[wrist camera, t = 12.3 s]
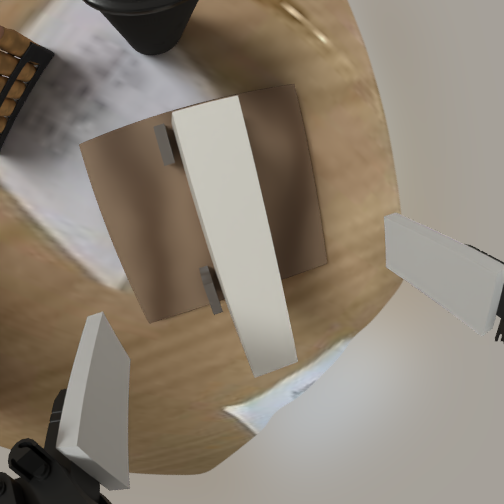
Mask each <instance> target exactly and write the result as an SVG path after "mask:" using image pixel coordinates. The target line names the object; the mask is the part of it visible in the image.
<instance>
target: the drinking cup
mask: <svg viewBox="0 0 504 504" xmlns="http://www.w3.org/2000/svg"><path fill="white" fill-rule="evenodd" d="M83 1H84V2H85V3H86V4H87V5H89V6H90V7H92V8H94V9H96V10H99V11H100V12H101V13H102V14H103V15H104V16H105V17H106V18H107V19H108V20H109V22H110V23H111V24H112V25H113V26H114V27H115V28H116V29H117V30H118V31H119V33H120V34H121V35H122V36H123V37H124V38H125V39H126V40H127V42H128V43H129V44H130V45H131V46H132V47H133V48H134V49H135V50H136V51H138V52H140V53H142V54H146V55H157V54H161V53H164V52H166V51H168V50H170V49H171V48H173V47H174V46H175V45H176V44H177V43H178V41H179V40H180V38H181V36H182V33H183V31H184V29H185V27H186V25H187V23H188V21H189V18H190V16H191V14H192V12H193V10H194V8H195V6H196V4H197V2H198V0H83Z"/></svg>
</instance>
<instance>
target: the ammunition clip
mask: <svg viewBox="0 0 504 504" xmlns="http://www.w3.org/2000/svg"><path fill="white" fill-rule="evenodd" d="M0 49H1V50H3V51H6V52H8V53H4V52H2V51H0V150H1V148H2V146H3V143H4V141H5V139H6V137H7V135H8V133H9V131H10V129H11V127H12V125H13V123H14V121H15V119H16V117H17V115H18V113H19V111H20V109H21V107H22V106H23V104H24V102H25V100H26V99H27V97H28V95H29V93H30V92H31V90H32V88H33V87H34V85H35V83H36V82H37V80H38V79H39V77H40V75H41V74H42V72H43V71H44V69H45V68H46V66H47V65H48V63H49V62H50V60H51V59H52V57H53V56H54V53H53V52H52V51H50V50H48V49H46V48H44V47H42V46H40V45H38V44H36V43H35V42H33V41H31V40H30V39H28V38H27V37H25V36H23V35H22V34H20V33H18V32H17V31H15V30H12V29H7V28H5V27H2V26H0ZM14 56H16V57H19V58H21V59H18V58H16V57H14ZM2 75H4V76H7V77H9V78H7V77H4V76H2Z"/></svg>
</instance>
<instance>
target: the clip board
mask: <svg viewBox="0 0 504 504" xmlns="http://www.w3.org/2000/svg"><path fill="white" fill-rule="evenodd" d="M237 95H238V98H239V102H240V106H241V110H242V114H243V118H244V122H245V126H246V130H247V134H248V138H249V143H250V147H251V151H252V155H253V159H254V163H255V168H256V172H257V176H258V180H259V185H260V189H261V193H262V197H263V202H264V206H265V210H266V215H267V219H268V224H269V228H270V233H271V237H272V241H273V246H274V250H275V255H276V259H277V264H278V269H279V273H280V278H281V280H282V279H285V278H288V277H291V276H294V275H297V274H299V273H302V272H305V271H308V270H310V269H313V268H316V267H319V266H321V265H324V264H327V258H326V251H325V244H324V237H323V230H322V224H321V217H320V211H319V205H318V199H317V193H316V187H315V181H314V176H313V170H312V165H311V160H310V155H309V149H308V144H307V139H306V135H305V130H304V125H303V120H302V116H301V111H300V107H299V102H298V98H297V94H296V90H295V85H294V84H290V85H284V86H277V87H271V88H266V89H260V90H255V91H250V92H245V93H240V94H235V95H231V96H226V97H222V98H218V99H214V100H210V101H206V102H202V103H198V104H194V105H190V106H187V107H183V108H180V109H176V110H173V111H169V112H166V113H163V114H160V115H157V116H153V117H150V118H147V119H144V120H141V121H138V122H135V123H133V124H130V125H127V126H124V127H122V128H119V129H116V130H113V131H111V132H108V133H106V134H103V135H101V136H98V137H96V138H93V139H91V140H88V141H86V142H84V143H81V144H79V146H80V150H81V153H82V157H83V160H84V163H85V166H86V170H87V173H88V176H89V179H90V182H91V185H92V188H93V191H94V194H95V197H96V200H97V203H98V205H99V208H100V211H101V214H102V216H103V219H104V222H105V224H106V227H107V230H108V232H109V235H110V237H111V240H112V242H113V245H114V247H115V250H116V252H117V255H118V257H119V259H120V262H121V264H122V266H123V269H124V271H125V273H126V276H127V278H128V280H129V282H130V285H131V287H132V289H133V291H134V293H135V295H136V298H137V300H138V302H139V304H140V306H141V308H142V310H143V312H144V314H145V316H146V318H147V320H148V322H149V323H153V322H156V321H159V320H162V319H165V318H169V317H172V316H175V315H178V314H181V313H184V312H187V311H191V310H194V309H197V308H200V307H203V306H206V305H209V304H210V305H211V308H212V311H213V313H214V315H215V314H218V313H221V312H223V311H222V308H221V305H220V302H219V301H221V300H224V299H225V298H224V295H223V292H222V290H221V286H220V283H219V280H218V277H217V274H216V271H215V268H214V265H213V262H212V259H211V256H210V253H209V249H208V246H207V243H206V240H205V237H204V233H203V230H202V227H201V224H200V220H199V217H198V214H197V211H196V207H195V204H194V201H193V197H192V194H191V191H190V187H189V184H188V180H187V177H186V173H185V170H184V166H183V163H182V159H181V156H180V152H179V149H178V145H177V142H176V138H175V134H174V131H173V127H172V112H174V111H178V110H181V109H185V108H188V107H192V106H196V105H199V104H203V103H207V102H211V101H215V100H219V99H224V98H228V97H232V96H237Z"/></svg>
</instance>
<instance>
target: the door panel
mask: <svg viewBox="0 0 504 504" xmlns="http://www.w3.org/2000/svg"><path fill="white" fill-rule="evenodd" d="M172 127H173V131H174V134H175V138H176V142H177V145H178V149H179V152H180V156H181V159H182V163H183V166H184V170H185V173H186V177H187V180H188V184H189V187H190V191H191V194H192V197H193V201H194V204H195V207H196V211H197V214H198V217H199V220H200V224H201V227H202V230H203V233H204V237H205V240H206V243H207V246H208V249H209V253H210V256H211V259H212V262H213V265H214V268H215V271H216V274H217V277H218V280H219V283H220V286H221V290H222V292H223V295H224V298H225V301H226V303H227V306H228V309H229V312H230V314H231V317H232V320H233V322H234V325H235V328H236V331H237V333H238V336H239V339H240V341H241V344H242V346H243V349H244V352H245V354H246V357H247V359H248V362H249V365H250V367H251V370H252V372H253V375H254V377H258V376H261V375H264V374H267V373H269V372H272V371H275V370H278V369H280V368H283V367H285V366H288V365H291V364H293V363H296V362H298V359H297V354H296V349H295V344H294V339H293V335H292V330H291V325H290V320H289V315H288V311H287V306H286V301H285V296H284V292H283V287H282V282H281V278H280V273H279V269H278V264H277V259H276V255H275V250H274V246H273V241H272V237H271V233H270V228H269V224H268V219H267V215H266V210H265V206H264V202H263V197H262V193H261V189H260V185H259V180H258V176H257V172H256V168H255V163H254V159H253V155H252V151H251V147H250V143H249V138H248V134H247V130H246V126H245V122H244V118H243V114H242V110H241V106H240V102H239V98H238V95H237V96H232V97H228V98H224V99H219V100H215V101H211V102H207V103H203V104H199V105H196V106H192V107H188V108H185V109H181V110H178V111H174V112H172Z"/></svg>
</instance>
